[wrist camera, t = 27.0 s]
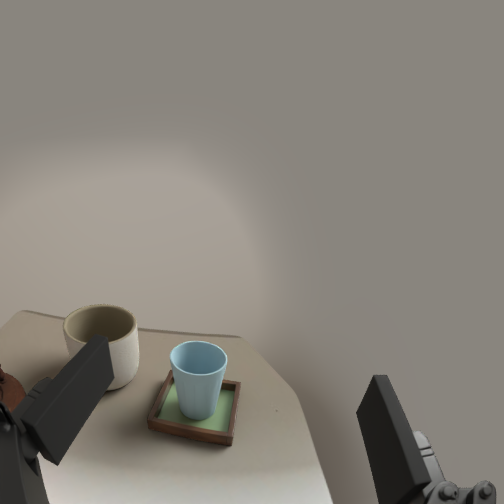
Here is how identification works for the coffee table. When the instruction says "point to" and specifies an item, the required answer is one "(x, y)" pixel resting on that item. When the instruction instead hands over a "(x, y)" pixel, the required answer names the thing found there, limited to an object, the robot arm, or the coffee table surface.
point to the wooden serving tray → (176, 423)
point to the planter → (109, 325)
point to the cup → (198, 377)
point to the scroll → (10, 390)
